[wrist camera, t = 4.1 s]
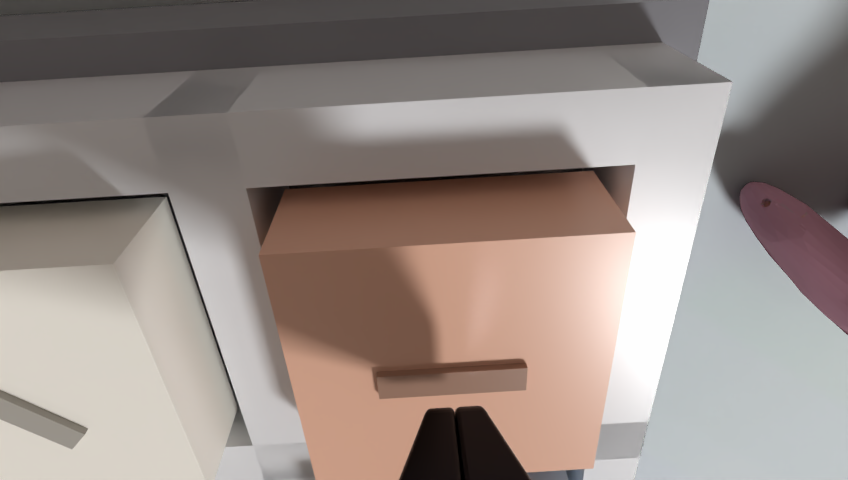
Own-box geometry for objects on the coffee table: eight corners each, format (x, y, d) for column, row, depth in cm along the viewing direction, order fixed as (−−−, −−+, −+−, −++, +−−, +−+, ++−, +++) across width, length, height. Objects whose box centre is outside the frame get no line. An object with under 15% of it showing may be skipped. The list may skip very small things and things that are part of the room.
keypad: (573, 463, 21) (621, 623, 16) (2, 497, 21) (-112, 667, 16) (645, -24, 12) (797, 27, 7) (-353, 37, 12) (-826, 126, 7)
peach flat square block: (566, 387, 12) (595, 473, 10) (328, 402, 12) (316, 491, 10) (592, 171, 9) (639, 237, 7) (284, 189, 9) (256, 260, 7)
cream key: (237, 407, 12) (208, 497, 10) (0, 422, 12) (-71, 514, 10) (166, 196, 9) (109, 268, 7) (-142, 215, 9) (-274, 291, 7)
